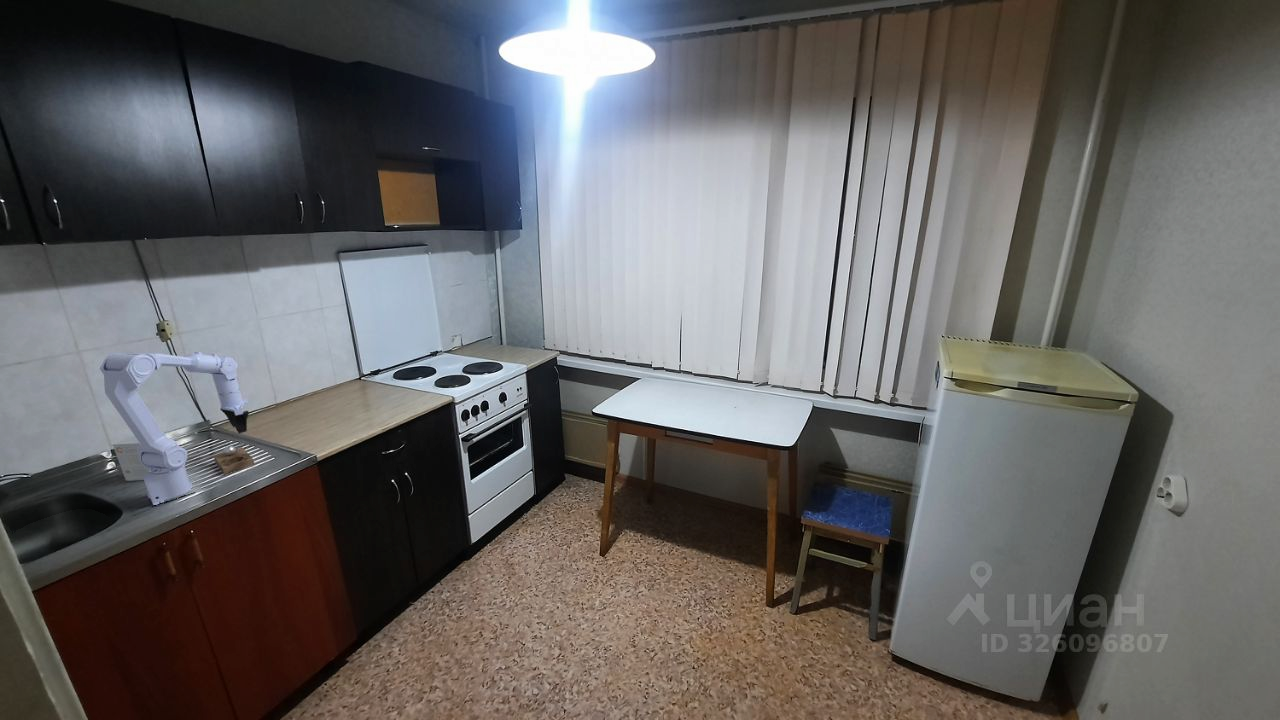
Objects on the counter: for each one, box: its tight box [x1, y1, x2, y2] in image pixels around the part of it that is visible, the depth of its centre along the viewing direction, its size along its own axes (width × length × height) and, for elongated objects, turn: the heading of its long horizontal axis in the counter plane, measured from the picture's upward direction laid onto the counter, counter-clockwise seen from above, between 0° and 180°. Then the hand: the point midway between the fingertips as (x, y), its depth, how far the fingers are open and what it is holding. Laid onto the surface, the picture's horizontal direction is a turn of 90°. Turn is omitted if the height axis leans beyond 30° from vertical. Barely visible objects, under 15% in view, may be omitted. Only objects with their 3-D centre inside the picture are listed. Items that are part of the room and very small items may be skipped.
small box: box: [111, 435, 151, 482], centre depth 158 cm, size 8×6×13 cm
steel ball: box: [222, 445, 237, 455], centre depth 167 cm, size 3×3×3 cm
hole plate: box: [213, 446, 255, 476], centre depth 166 cm, size 8×13×2 cm, turn 50°
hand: (239, 428), depth 168 cm, fingers open, 7 cm apart
